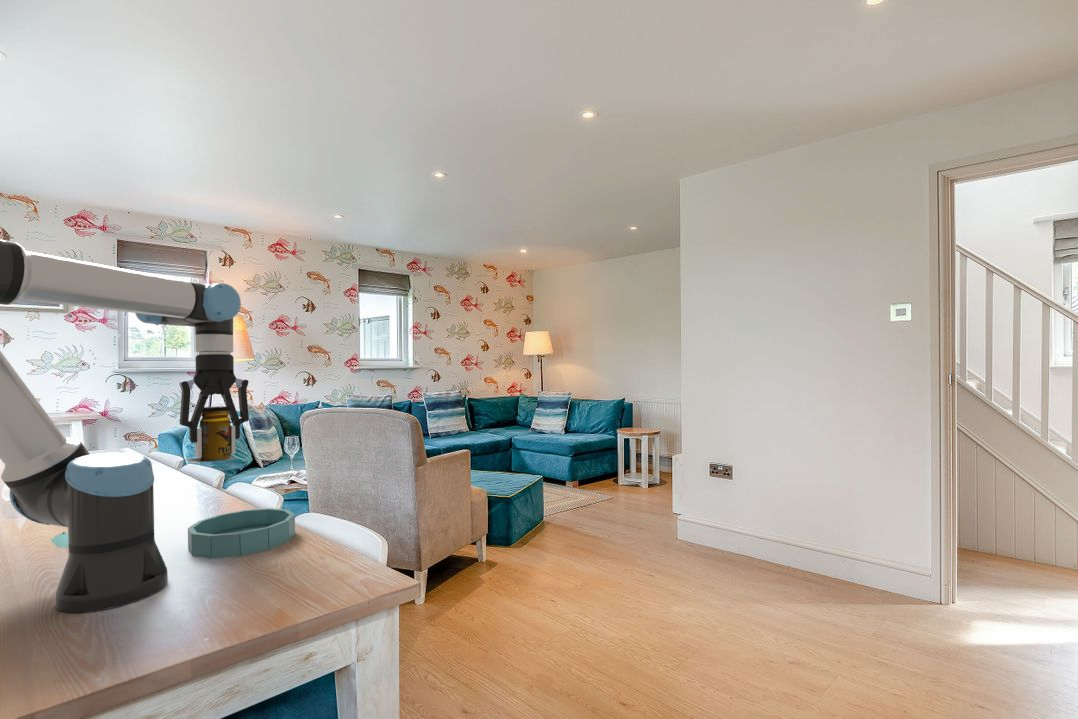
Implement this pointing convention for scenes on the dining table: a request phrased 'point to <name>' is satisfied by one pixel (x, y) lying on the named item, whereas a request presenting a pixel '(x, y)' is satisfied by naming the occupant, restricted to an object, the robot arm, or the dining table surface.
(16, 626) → the dining table surface
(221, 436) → the yellow cylindrical bottle
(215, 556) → the bowl
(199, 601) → the dining table surface
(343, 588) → the dining table surface
